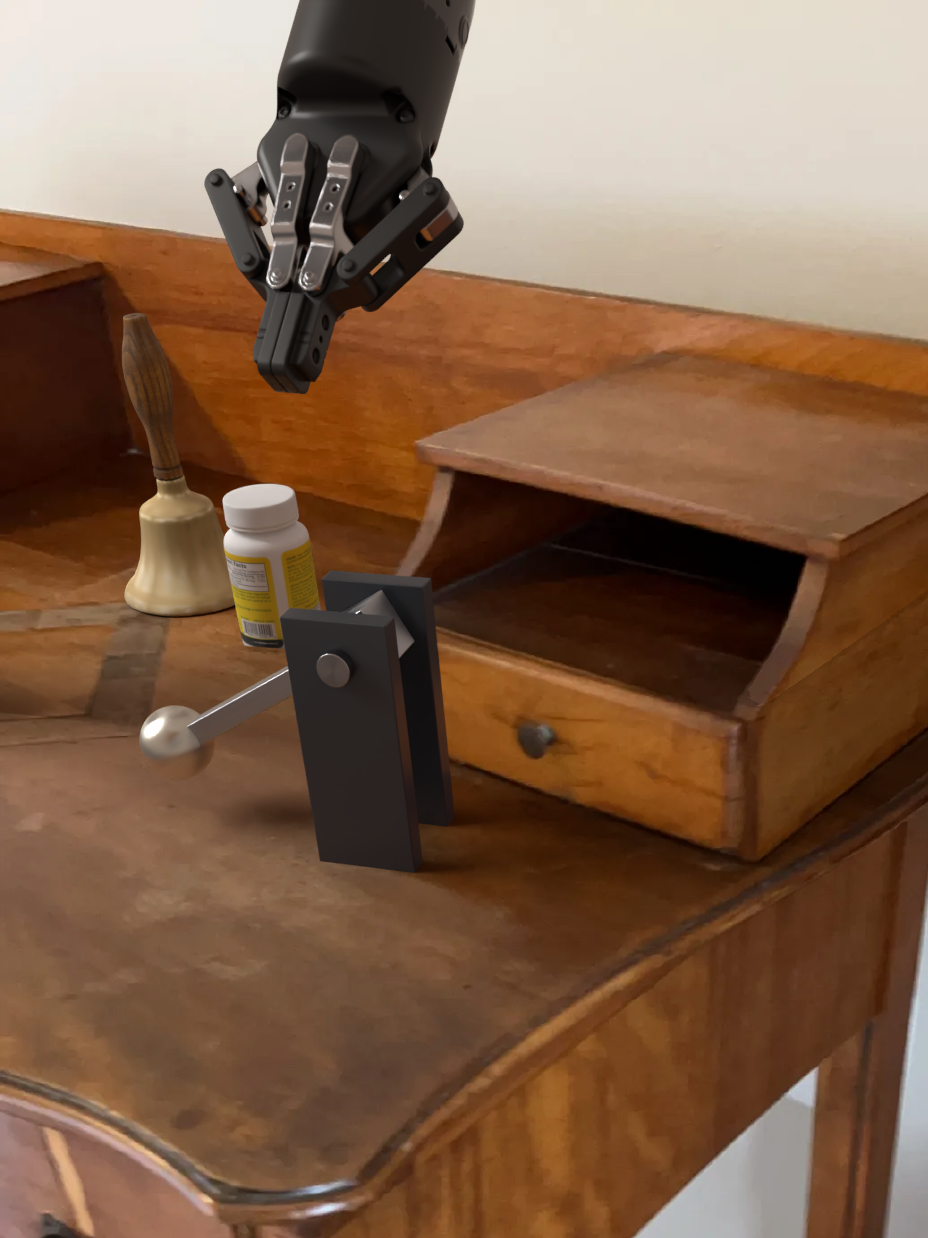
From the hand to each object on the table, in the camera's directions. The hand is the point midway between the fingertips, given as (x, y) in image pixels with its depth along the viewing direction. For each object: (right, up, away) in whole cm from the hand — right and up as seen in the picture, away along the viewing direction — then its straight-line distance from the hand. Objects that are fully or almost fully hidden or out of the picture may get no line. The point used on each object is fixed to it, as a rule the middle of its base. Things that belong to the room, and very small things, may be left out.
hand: (281, 383), depth 69 cm
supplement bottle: (-4, -6, +20) cm, 22 cm away
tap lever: (+1, -16, -4) cm, 17 cm away
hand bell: (-11, -1, +27) cm, 29 cm away
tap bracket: (+5, -22, -1) cm, 23 cm away
